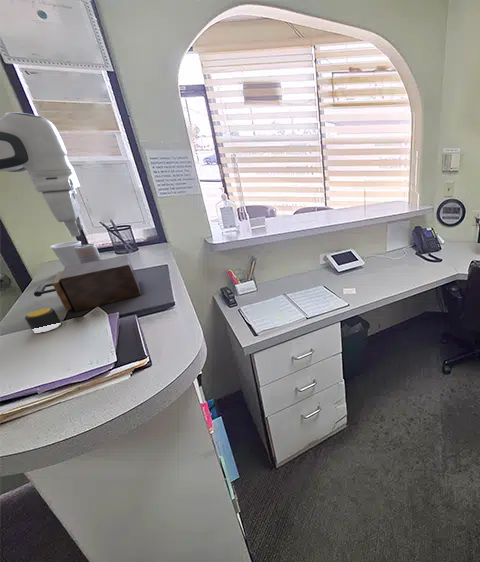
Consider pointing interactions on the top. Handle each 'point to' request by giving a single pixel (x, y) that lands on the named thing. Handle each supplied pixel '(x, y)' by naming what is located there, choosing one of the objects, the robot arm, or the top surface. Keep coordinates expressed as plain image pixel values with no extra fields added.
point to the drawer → (58, 289)
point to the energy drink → (87, 253)
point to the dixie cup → (67, 252)
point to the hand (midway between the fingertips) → (77, 233)
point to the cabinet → (100, 282)
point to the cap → (42, 318)
